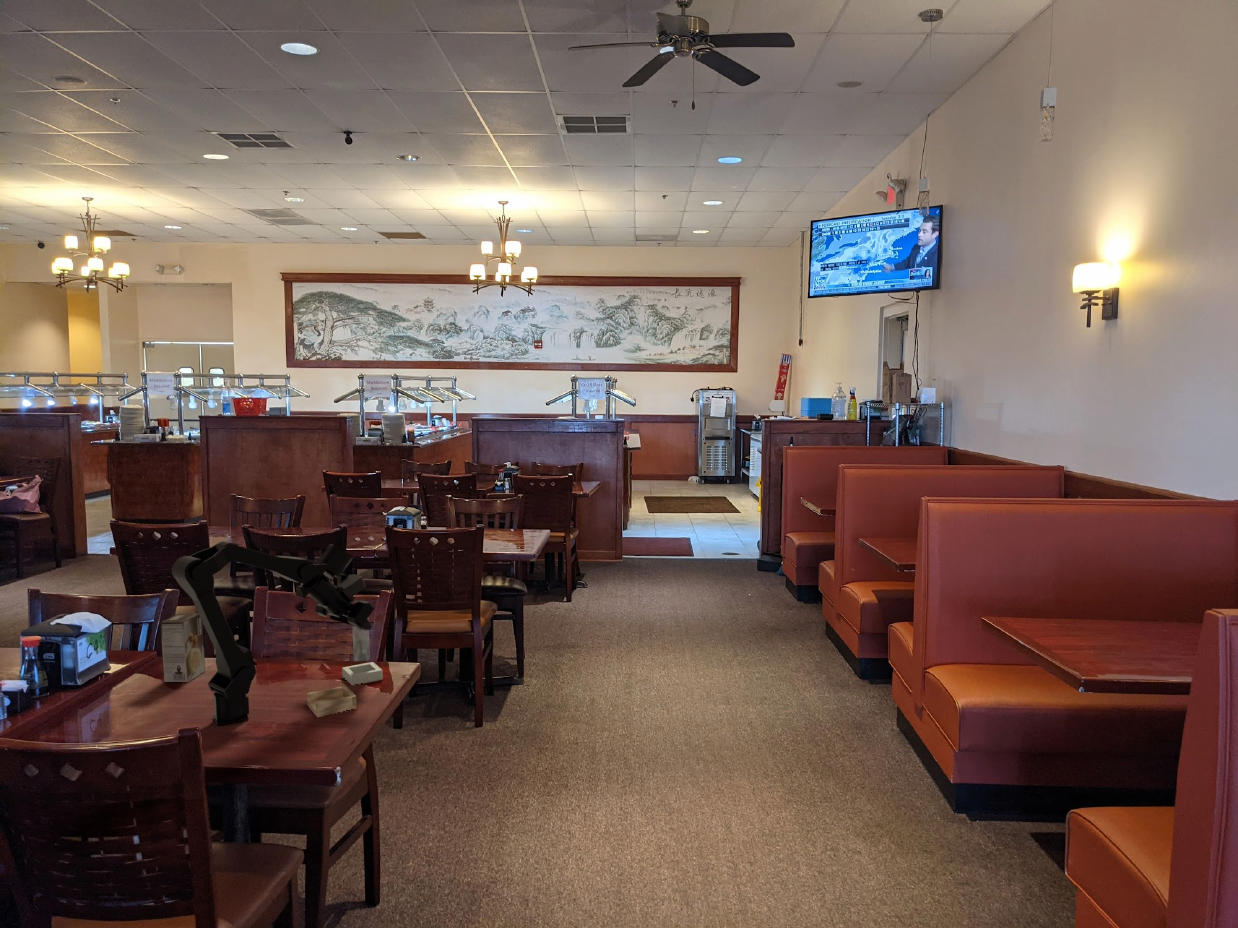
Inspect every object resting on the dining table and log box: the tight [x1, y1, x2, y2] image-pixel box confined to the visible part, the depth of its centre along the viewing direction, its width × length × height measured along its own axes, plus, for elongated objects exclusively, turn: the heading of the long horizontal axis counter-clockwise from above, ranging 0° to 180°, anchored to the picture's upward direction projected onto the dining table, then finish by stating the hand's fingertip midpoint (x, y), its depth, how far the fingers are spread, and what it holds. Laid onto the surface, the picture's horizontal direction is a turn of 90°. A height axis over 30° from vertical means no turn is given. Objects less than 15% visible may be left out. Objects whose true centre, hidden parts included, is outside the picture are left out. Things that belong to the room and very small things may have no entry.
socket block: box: [341, 661, 384, 686], centre depth 219 cm, size 8×8×2 cm
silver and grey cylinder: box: [352, 600, 371, 662], centre depth 218 cm, size 4×4×15 cm
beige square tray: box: [306, 685, 358, 718], centre depth 199 cm, size 9×9×3 cm
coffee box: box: [159, 612, 206, 683], centre depth 221 cm, size 9×6×16 cm
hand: (365, 626), depth 219 cm, fingers closed on silver and grey cylinder, 4 cm apart
